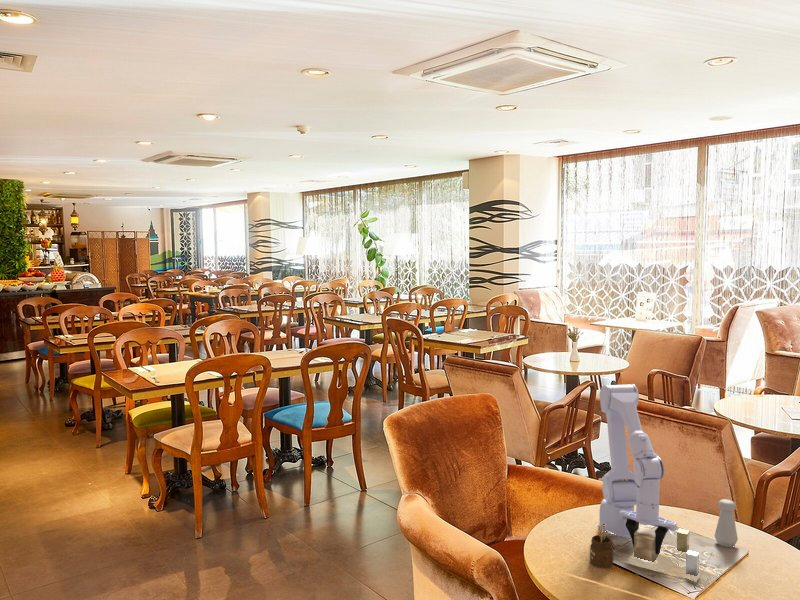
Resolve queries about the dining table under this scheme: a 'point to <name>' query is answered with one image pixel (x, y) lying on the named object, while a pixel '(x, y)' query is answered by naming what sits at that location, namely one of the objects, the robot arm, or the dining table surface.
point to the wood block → (645, 544)
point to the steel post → (692, 562)
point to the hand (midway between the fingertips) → (646, 549)
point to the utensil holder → (601, 550)
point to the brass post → (683, 540)
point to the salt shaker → (726, 524)
